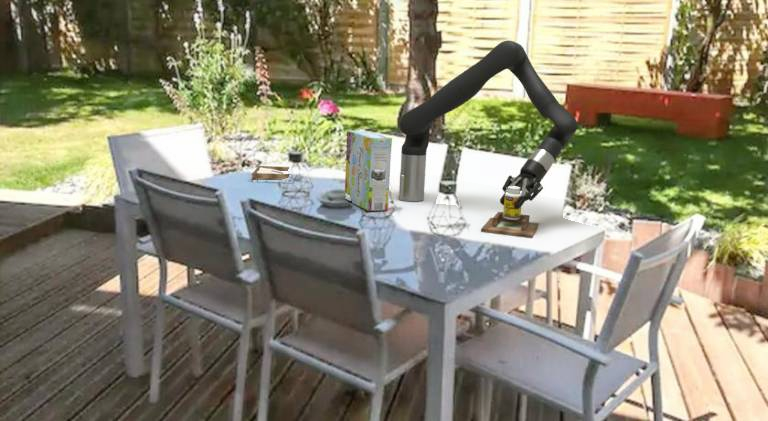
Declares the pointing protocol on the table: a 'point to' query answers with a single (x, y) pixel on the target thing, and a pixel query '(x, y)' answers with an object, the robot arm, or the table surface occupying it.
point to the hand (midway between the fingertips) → (508, 205)
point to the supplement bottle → (511, 203)
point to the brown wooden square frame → (510, 226)
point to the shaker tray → (270, 176)
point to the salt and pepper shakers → (269, 171)
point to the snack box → (367, 169)
